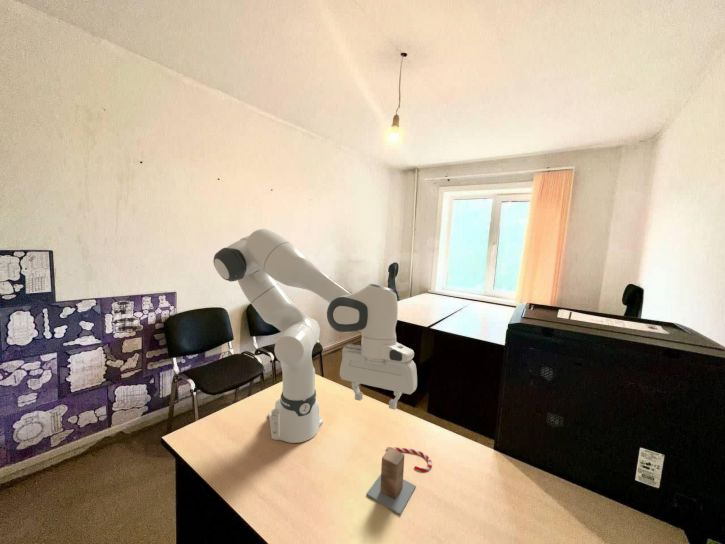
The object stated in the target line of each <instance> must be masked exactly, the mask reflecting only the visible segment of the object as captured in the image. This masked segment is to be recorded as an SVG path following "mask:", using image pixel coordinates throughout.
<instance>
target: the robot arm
mask: <svg viewBox="0 0 725 544" xmlns="http://www.w3.org/2000/svg"><path fill="white" fill-rule="evenodd" d="M212 262H213V266H214V268H215V270H216V271H217V273H218V275H219V277H221V278H222V279H223V280H225V281H228V282H231V283H232V282H236V281H237V282H238V285H239V287H240V289H241V291H242V292H243V295H244V296H245V298H246V300H248V302H249V303H250V304H251V305H252V307H253V309H255V311H256V312H257V313H258V315H259V316H260V318H261V319H262V320H263V321H264V323H266V324H269V325H272V326H273V327H275V328H276V329H277V330H278V331H279V332H281V334H279V336H278V338H277V340H276V343H275V345H274V356H275V357H276V359H277V360H278V362H280V366H281V371H282V388H281V389H282V390H281V391H282V392H281V394H280V398H279V399H278V400H276V401H275V403H274V408H273V409H271V411H270V412H269V413H268V422H269V428H270V429H269V430H270V437H271V439H272V440H275V441H283V442H286V443H291V444H294V443H295V444H297V443H298V444H299V443H303V442H306V441H308V440H311V439H312V438H313V437H315V436H316V435H317V433H318V432H319V428H320V426H322V424H323V423H324V421H323V420H324V419H323V418H322V417H321V415H320V403H319V402H318V401H317V400H316V399H317V392H316V391H317V390H316V388H315V387H316V382H315V381H316V368H315V367H314V365H313V359H312V353H313V349H314V346H315V345H316V344H317V343H318V341H319V338H320V335H321V327H320V324H319V323H318V321H317V320H316V319H314V318H312V317H310V316H308V314H306V313H305V312H304V311H303V310H302V309H300V308H299V306H297V305H296V304H295V303H294V302H293V300H291V298H290V297H289V296H288V294H286V292H285V291H284V289H283V288H282V287H281V285H280V284H282V285H284V286H288V287H292V288H298V289H303V290H307V291H310V292H312V293H314V294H316V295H318V296H319V297H320V298H322V299H323V300H324V301H326V302H327V303H328V304H329V305H328V307H327V310H326V318H327V321H328V324H329V326H330V327H331V328H332V329H333V330H335V331H337V332H339V333H346V334H348V333H352V332H361V344H352V343H347V344H346V345H344V346H343V348H342V350H341V356H342V357H341V363H340V368H339V377H340V379H341V380H343V381H347V382H351V387H352V390H353V393H354V400H356V401H361V400H363V398H364V397H363V394H364V393H363V392H362V391H361V390H360V387H359V385H360V384H362V385H366V386H369V387H370V386H371V387H374V388H380V389H383V390H388V391H393V395H394V396H395V397H394V399H393V398H392V399H390V400H389V401H388V409H391V410H396V409H397V408H398V400H400V398H401V396H402V395H403V394H407V395H412V394H413V393H414V392H416V390H417V387H418V374H417V373H418V372H417V365H416V363H415V362H414V360H413V358H414V357H415V352H414V350H413V349H412V348H409V347H407V346H405V345H403V344H402V343H399V342H398V341H397V332H396V327H397V323H398V310H399V308H398V296H397V293H396V292H395V290H394V289H392V288H391V287H387V286H384V285H380V284H379V285H378V284H373V283H370V284H368V285H367V286H365V287H364V288H362V289H360V290H358V291H355V292H351V291H349V290H347V289H346V288H345V287H343V286H342V285H341V284H339V283H338V282H337V281H335V280H334V279H332V278H331V277H330V276H328V275H327V274H325V273H324V272H323V270H321V269H320V268H319V267H318V266H317V265H315V264H314V263H313V262H312V261H311V259H309V258H308V257H307V256H306V255H305V254H304V253H303V252H302V251H301V250H300V249H299V248H297V247H296V246H295V245H294V244H292V243H291V242H290V241H288V240H287V239H285V238H284V237H282V236H281V235H279V234H277V233H276V232H273V231H271V230H269V229H267V228H266V229H265V228H259V229H256V230H254V231H253V232H251V233H250V235H247V236H245V237H242V238H240V239H239V240H237V241H235V242H234V243H232V244H230V245H228V246H227V247H223V248H221V249H220V250H218V251H217V252H215V254H214V256H213V261H212ZM278 282H279V283H280V284H279V283H278Z"/></svg>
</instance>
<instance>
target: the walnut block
mask: <svg viewBox="0 0 725 544" xmlns="http://www.w3.org/2000/svg"><path fill="white" fill-rule="evenodd" d="M380 469H381V470H380V471H381V472H380V474H381V487H380V491H381V492H382V493H384V494H386V495H387V496H389V497H391V498H393V499H394V500H395V499H396V498H397V496H398V495H399V493H400V491H401V490H402V488H403V479H404V473H405V472H404V469H405V453H403V452H398V451H396V450H394V449H392V448H389V449H388V451H386V452H385V453H384V454H383V455H382V456H381V468H380Z"/></svg>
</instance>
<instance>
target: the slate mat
mask: <svg viewBox="0 0 725 544" xmlns="http://www.w3.org/2000/svg"><path fill="white" fill-rule="evenodd" d="M380 487H381V473H380V475H379V476H378V477H377V479H376V480H375V481H374V483H373V484H372V485H371V487H370V488H369V489H368V491H367V492H366V496H367V497H369V498H371V499H372V500H374V501H375V502H377V503H379V504H381V506H384V507H386V508H387V509H389V510H391V511H392V512H394V513H396V515H399V516H401V515H402V513H403V511H404V509H405V508H406V506H407V504H408V502H409V501H410V498H411V497H412V495H413V493H414V491H415V489H416V487H417V486H416V485H415V484H413V483H411V482H410V481H407V480H406V479H404V478H403V488H402V490H401V491H400V493H399V495H398V496H397V498H396V499H395V500H394V499H393V498H391V497H389V496H387V495H386V494H384V493H382V492H381V491H380Z"/></svg>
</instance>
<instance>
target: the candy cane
mask: <svg viewBox="0 0 725 544" xmlns="http://www.w3.org/2000/svg"><path fill="white" fill-rule="evenodd" d="M389 448H392V449H394V450H396V451H398V452H400V453H404V454H406V453H407V454H413V455H418V456H419V457H422V458H423V459H424V460H426V462H427V465H426V466H425V467H419V466H417V465H415V466H414V468H413V470H414V471H416V472H421V473H426V472H429V471H430V470H431V469H432V466H433V462H432V460H431V457H429V456H428V455H427V454H426V453H424V452H422V451H420V450H417V449H414V448H413V449H412V448H405V447H396V446H395V447H392V446H389V447H386V452H387V451H388V449H389Z"/></svg>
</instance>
